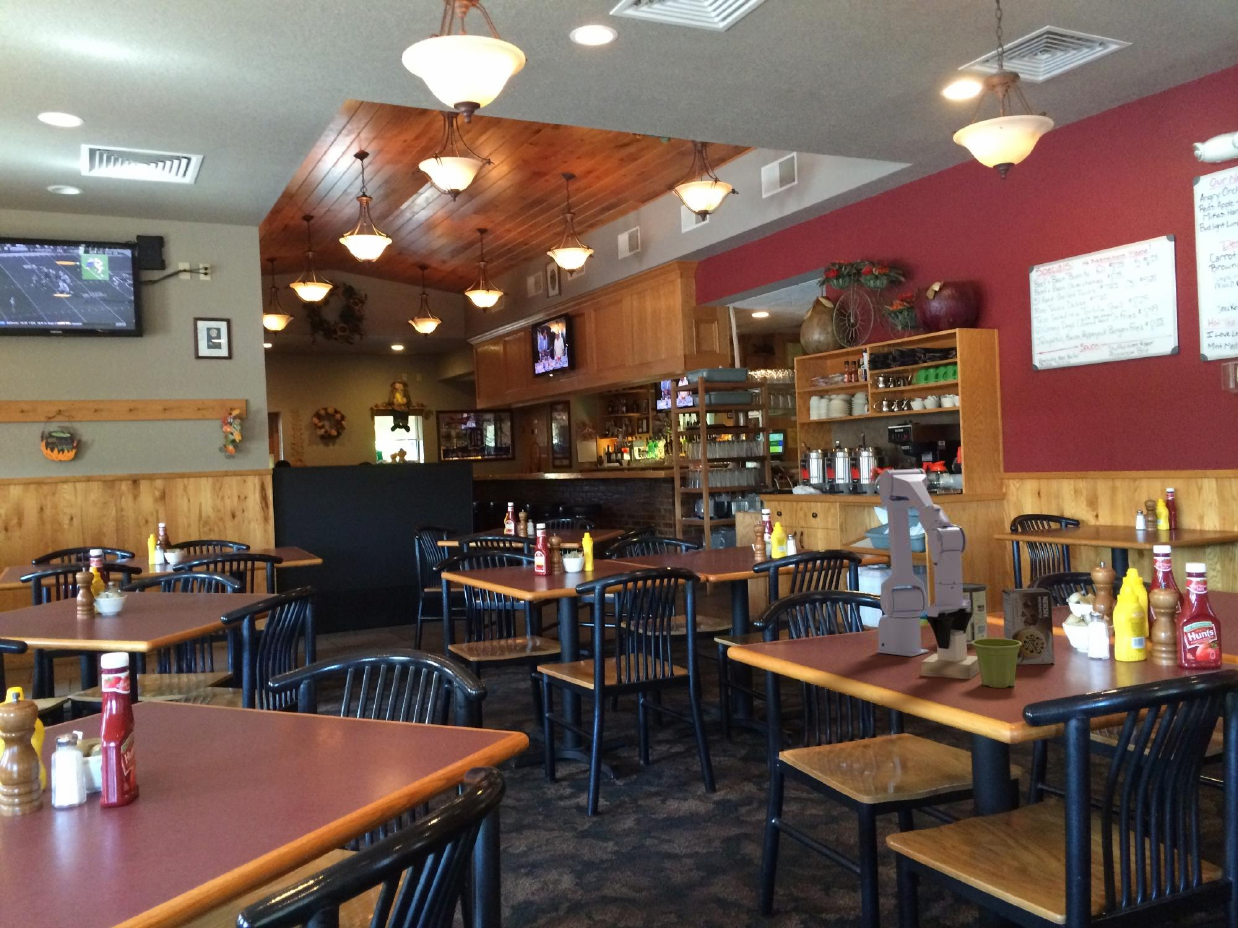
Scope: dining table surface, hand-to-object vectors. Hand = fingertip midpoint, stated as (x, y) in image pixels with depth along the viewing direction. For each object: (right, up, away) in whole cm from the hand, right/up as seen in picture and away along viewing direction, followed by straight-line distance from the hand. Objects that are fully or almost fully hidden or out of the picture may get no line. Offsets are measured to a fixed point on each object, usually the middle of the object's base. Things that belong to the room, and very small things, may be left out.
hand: (950, 646), depth 214 cm
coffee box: (+21, -5, +9) cm, 23 cm away
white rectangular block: (0, -3, 0) cm, 3 cm away
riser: (0, -6, 0) cm, 6 cm away
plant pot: (+5, -6, -13) cm, 15 cm away
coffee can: (+16, -6, +37) cm, 41 cm away
